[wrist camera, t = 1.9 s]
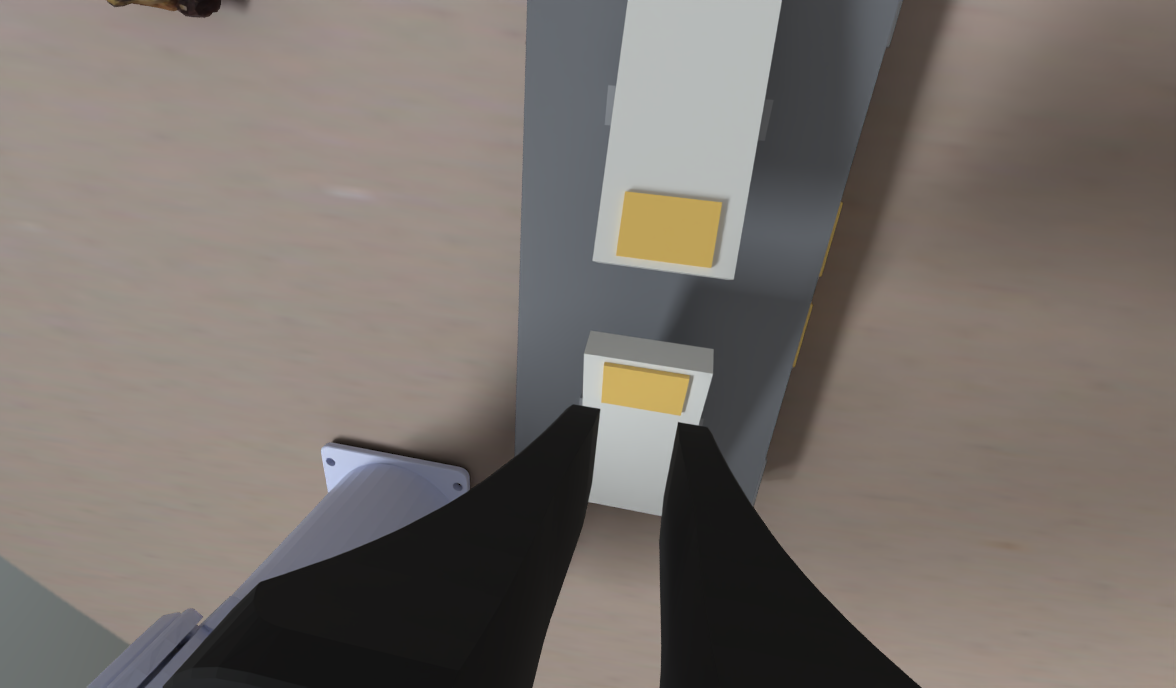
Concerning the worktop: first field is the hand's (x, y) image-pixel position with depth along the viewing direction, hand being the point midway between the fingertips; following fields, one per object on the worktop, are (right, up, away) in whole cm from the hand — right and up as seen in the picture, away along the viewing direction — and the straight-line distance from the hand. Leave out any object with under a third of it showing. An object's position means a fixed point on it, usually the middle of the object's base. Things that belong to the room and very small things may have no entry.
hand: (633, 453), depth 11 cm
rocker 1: (+2, +8, +2) cm, 9 cm away
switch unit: (+2, +6, +9) cm, 11 cm away
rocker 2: (+1, -1, +6) cm, 6 cm away
